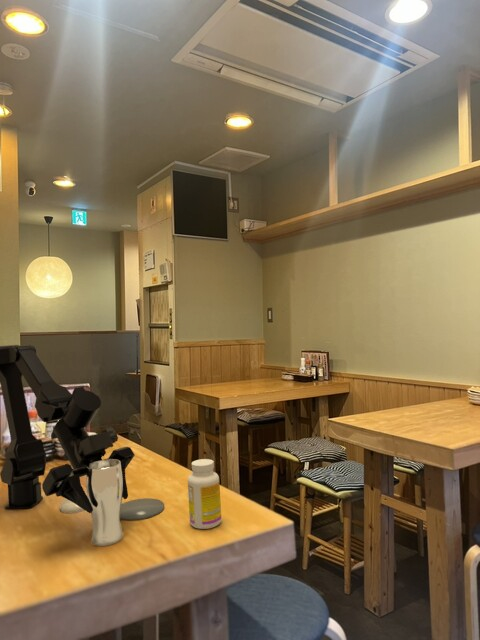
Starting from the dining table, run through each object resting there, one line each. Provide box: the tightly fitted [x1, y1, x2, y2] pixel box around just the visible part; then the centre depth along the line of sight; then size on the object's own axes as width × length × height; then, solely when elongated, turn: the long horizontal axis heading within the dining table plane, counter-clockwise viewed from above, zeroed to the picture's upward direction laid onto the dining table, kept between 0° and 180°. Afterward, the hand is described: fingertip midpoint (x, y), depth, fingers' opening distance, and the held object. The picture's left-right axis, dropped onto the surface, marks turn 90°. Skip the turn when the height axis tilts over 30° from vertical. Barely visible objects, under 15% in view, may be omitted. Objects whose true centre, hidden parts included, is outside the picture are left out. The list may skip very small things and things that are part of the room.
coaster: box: [120, 497, 165, 521], centre depth 108 cm, size 11×11×1 cm
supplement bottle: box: [187, 458, 222, 530], centre depth 99 cm, size 7×7×13 cm
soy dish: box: [59, 499, 86, 514], centre depth 112 cm, size 7×7×1 cm
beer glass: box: [85, 458, 124, 547], centre depth 94 cm, size 7×7×15 cm
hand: (109, 504), depth 93 cm, fingers open, 8 cm apart
